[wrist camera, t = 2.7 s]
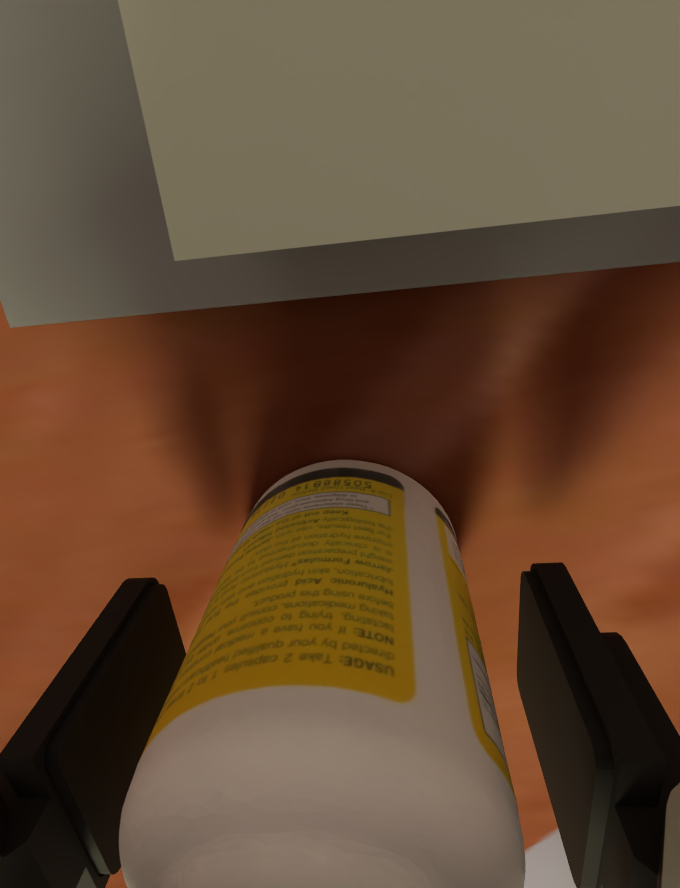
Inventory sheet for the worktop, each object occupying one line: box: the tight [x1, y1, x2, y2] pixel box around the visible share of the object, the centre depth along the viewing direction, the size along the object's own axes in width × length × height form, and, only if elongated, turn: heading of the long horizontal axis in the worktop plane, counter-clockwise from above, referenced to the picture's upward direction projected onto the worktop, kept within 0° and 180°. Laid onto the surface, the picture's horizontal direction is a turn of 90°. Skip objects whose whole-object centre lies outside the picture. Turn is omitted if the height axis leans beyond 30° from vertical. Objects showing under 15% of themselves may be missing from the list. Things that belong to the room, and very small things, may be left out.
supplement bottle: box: [119, 460, 525, 888], centre depth 9 cm, size 5×5×10 cm
